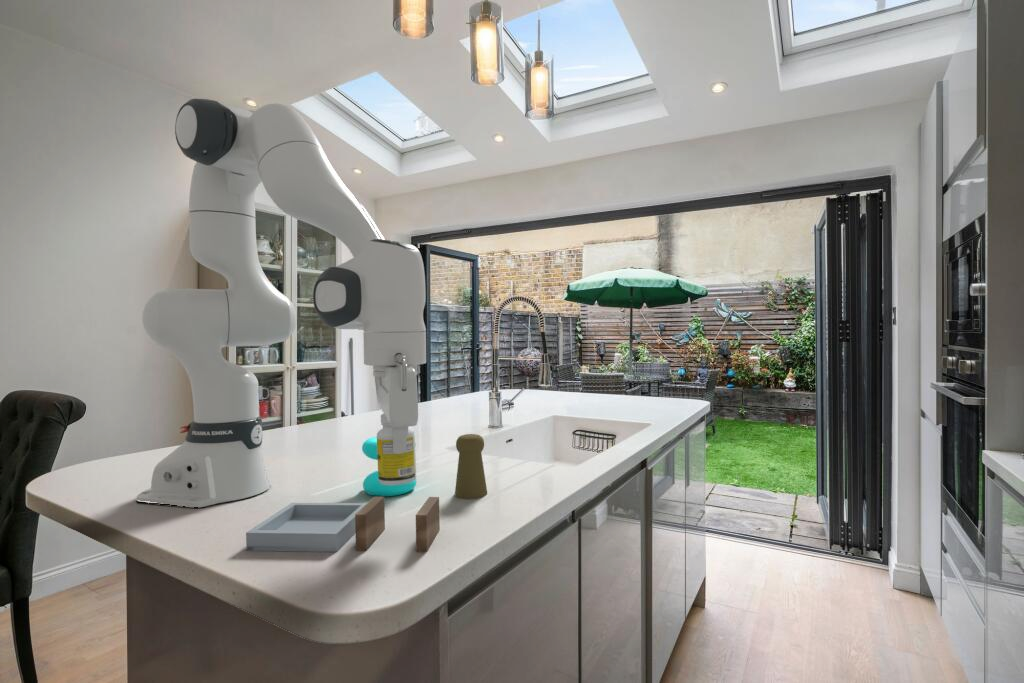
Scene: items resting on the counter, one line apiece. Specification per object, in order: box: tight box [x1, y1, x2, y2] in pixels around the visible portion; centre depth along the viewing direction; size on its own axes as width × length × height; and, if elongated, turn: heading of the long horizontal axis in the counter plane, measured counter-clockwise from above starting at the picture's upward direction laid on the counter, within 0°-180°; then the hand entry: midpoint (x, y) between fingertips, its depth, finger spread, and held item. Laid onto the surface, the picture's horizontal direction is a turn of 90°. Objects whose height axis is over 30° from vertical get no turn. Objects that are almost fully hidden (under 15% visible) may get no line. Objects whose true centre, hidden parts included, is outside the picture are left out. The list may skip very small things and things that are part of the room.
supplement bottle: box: [376, 414, 417, 485], centre depth 76 cm, size 5×5×10 cm
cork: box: [454, 433, 488, 500], centre depth 98 cm, size 6×6×11 cm
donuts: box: [361, 436, 417, 497], centre depth 101 cm, size 10×10×10 cm
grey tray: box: [245, 502, 368, 553], centre depth 79 cm, size 13×13×2 cm
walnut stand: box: [355, 496, 441, 553], centre depth 76 cm, size 10×8×5 cm
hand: (396, 447), depth 76 cm, fingers closed on supplement bottle, 5 cm apart
